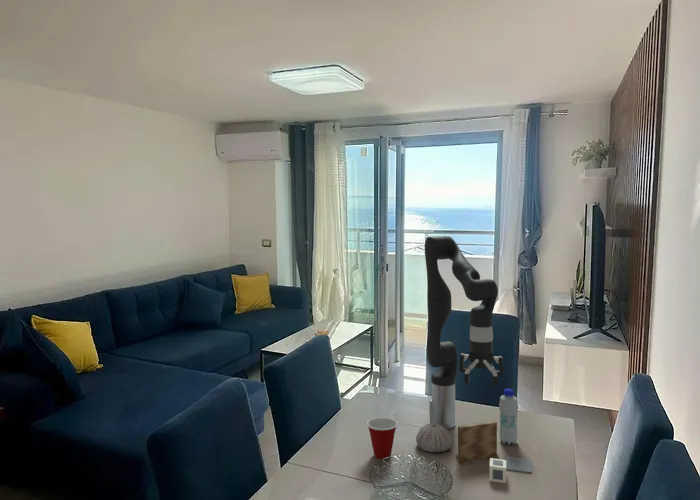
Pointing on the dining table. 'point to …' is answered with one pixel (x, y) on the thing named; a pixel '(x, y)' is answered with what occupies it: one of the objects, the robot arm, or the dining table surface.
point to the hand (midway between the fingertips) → (481, 385)
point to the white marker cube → (497, 470)
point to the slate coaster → (518, 464)
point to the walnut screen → (477, 441)
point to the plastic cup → (382, 436)
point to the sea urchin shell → (434, 438)
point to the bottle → (508, 417)
